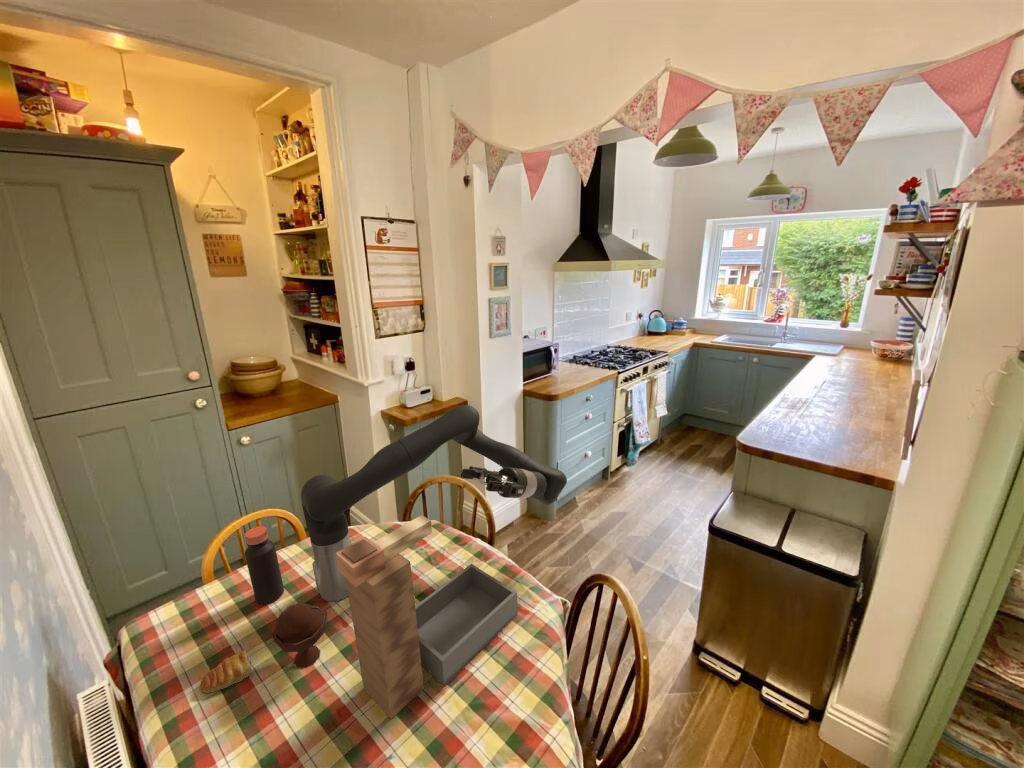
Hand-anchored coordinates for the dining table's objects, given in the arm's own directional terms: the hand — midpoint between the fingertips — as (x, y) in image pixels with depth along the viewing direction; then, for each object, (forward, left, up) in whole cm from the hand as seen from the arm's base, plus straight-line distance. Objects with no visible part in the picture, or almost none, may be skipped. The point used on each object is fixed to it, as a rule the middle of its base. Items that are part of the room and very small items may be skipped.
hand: (474, 479), depth 98 cm
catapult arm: (-8, -22, -5) cm, 24 cm away
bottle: (-56, -15, -37) cm, 69 cm away
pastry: (-44, -35, -38) cm, 68 cm away
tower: (-9, -25, -37) cm, 46 cm away
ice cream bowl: (-32, -26, -37) cm, 55 cm away
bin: (-2, -7, -37) cm, 38 cm away
